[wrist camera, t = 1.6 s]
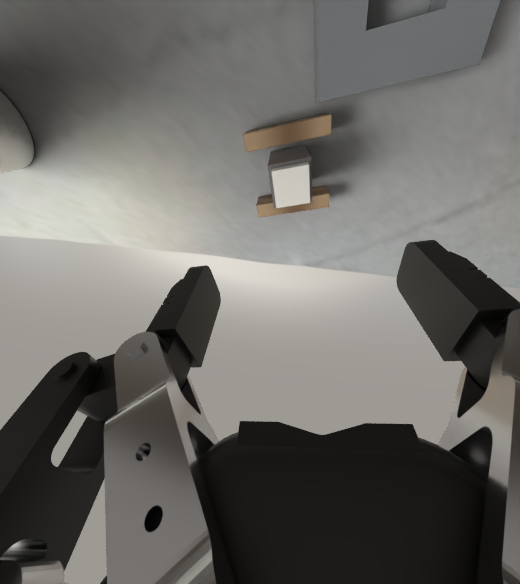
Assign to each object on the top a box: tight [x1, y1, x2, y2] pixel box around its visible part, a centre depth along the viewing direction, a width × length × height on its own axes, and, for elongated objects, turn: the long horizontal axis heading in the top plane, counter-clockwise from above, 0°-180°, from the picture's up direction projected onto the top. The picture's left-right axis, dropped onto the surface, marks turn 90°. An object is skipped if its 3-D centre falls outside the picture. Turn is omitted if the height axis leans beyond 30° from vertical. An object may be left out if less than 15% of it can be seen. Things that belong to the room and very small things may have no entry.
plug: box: [268, 145, 312, 208], centre depth 21 cm, size 4×4×8 cm
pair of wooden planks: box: [243, 114, 331, 217], centre depth 23 cm, size 8×8×3 cm
